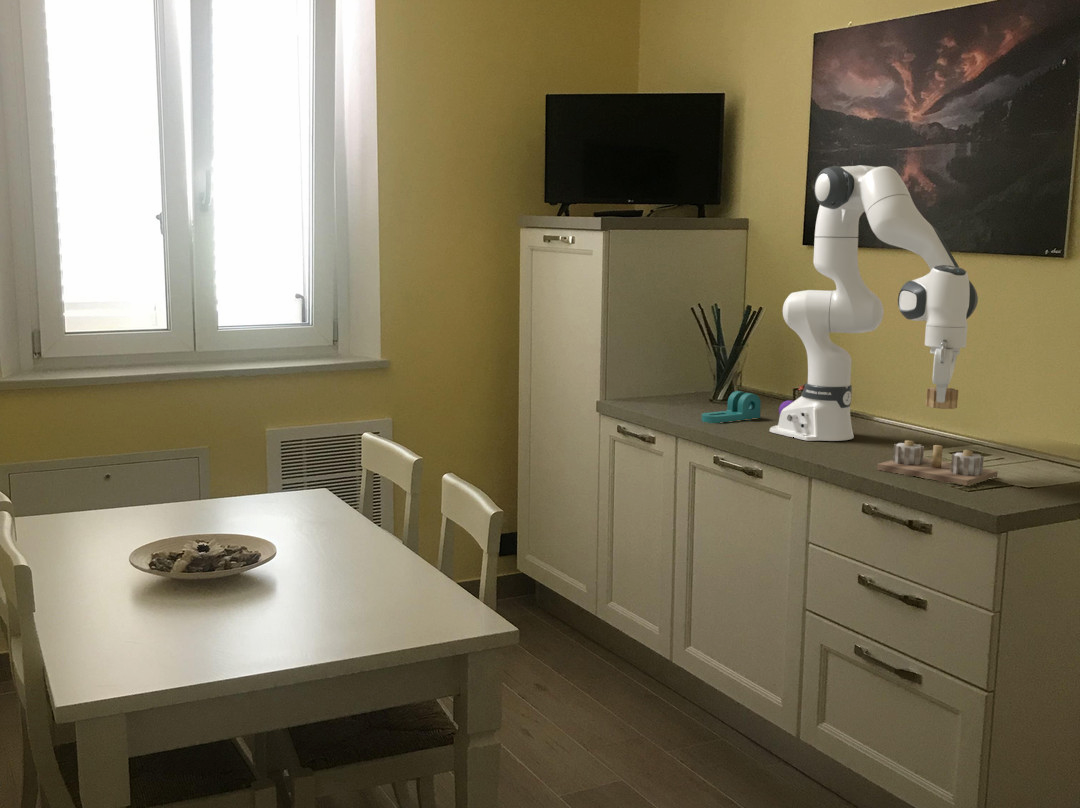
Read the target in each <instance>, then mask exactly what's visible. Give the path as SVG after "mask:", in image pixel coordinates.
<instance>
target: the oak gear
mask: <svg viewBox="0 0 1080 808" xmlns="http://www.w3.org/2000/svg"><path fill="white" fill-rule="evenodd" d="M925 399H926V401H925V407H929V408H930V409H940V410H947V409H948V410H954V409H957V408H958V401H959V389H955V388H952V387H948V388H946V395H945V402H943V403H942V402H937V401H936V399H937V390H936V387H933V386H931V387H927V388H926V398H925Z"/></svg>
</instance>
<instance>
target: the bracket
mask: <svg viewBox="0 0 1080 808" xmlns="http://www.w3.org/2000/svg"><path fill="white" fill-rule="evenodd" d="M761 402H762V401H761V398H760V397H759V395H757V394H755V393H752V392H745V391H740V390H735V391H733V392H731V393H730V395H729V396H728V399H727V408H726V410H720V411H712V412H704V413H701V420H702V421H703V422H702V421H701V422H702V423H704V422H709V423H708V424H710V423H720V422H729V421H737V420H745V419H752V418H760V419H761V407H762V406H761Z"/></svg>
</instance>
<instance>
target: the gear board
mask: <svg viewBox="0 0 1080 808" xmlns="http://www.w3.org/2000/svg"><path fill="white" fill-rule="evenodd" d="M943 449H944V447H943V445H940V444H935V445H934V444H933V447H932V459H930V458H925V457H924V455H925V454H924V453H925V446H924V445H923V444H919V443H918V444H917V443H915V441H914V440H909V439H908V440H906V439H905V440H904V442H898V443H894V444H893V453H892V454H893V456H892V457H893V458H892V459H890V460H886V461H883V462H879V463H876V471H879V470H882V471H881V472H884V471H887V472H886V473H890V472H892V473H891V474H895V473H898V474H897V475H900V474H904V475H903V476H906V475H910V476H909V477H911V476H916V477H921V478H927V479H933V480H938V481H944V482H949V483H957V484H963V485H969V484H972V483H975V482H978V481H981V480H985V479H989V478H993V477H997V478H998V473H999V472H998V470H994V469H987V468H984V459H985V457H984V456H983V455H982V454H980V453H973V452H974V451H973V450H969V449H963V450H962V452H961V451H960V452H955V453H952V454H951V462H947V461H943ZM916 477H915V478H916ZM921 478H920V479H921ZM927 479H926V480H927Z"/></svg>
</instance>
